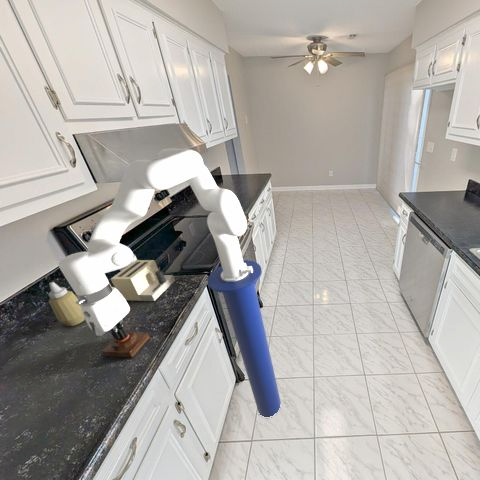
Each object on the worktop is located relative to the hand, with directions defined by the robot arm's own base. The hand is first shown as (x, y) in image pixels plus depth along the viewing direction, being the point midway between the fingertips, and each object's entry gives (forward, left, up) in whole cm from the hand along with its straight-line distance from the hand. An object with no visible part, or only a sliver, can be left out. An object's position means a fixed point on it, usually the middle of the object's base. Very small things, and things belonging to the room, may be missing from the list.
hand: (121, 337), depth 82 cm
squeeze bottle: (+30, -10, -5) cm, 32 cm away
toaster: (+14, -29, -4) cm, 33 cm away
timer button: (0, 0, -2) cm, 2 cm away
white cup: (+30, -39, -5) cm, 49 cm away
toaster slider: (+8, -31, -1) cm, 32 cm away
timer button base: (0, 0, -4) cm, 4 cm away
